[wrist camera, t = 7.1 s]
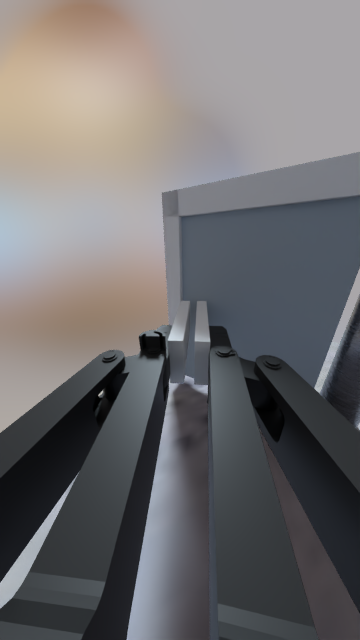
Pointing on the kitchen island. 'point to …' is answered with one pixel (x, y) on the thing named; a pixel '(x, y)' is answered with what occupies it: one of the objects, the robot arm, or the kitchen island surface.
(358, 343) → the metal joystick
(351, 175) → the panel
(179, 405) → the kitchen island surface
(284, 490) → the kitchen island surface
